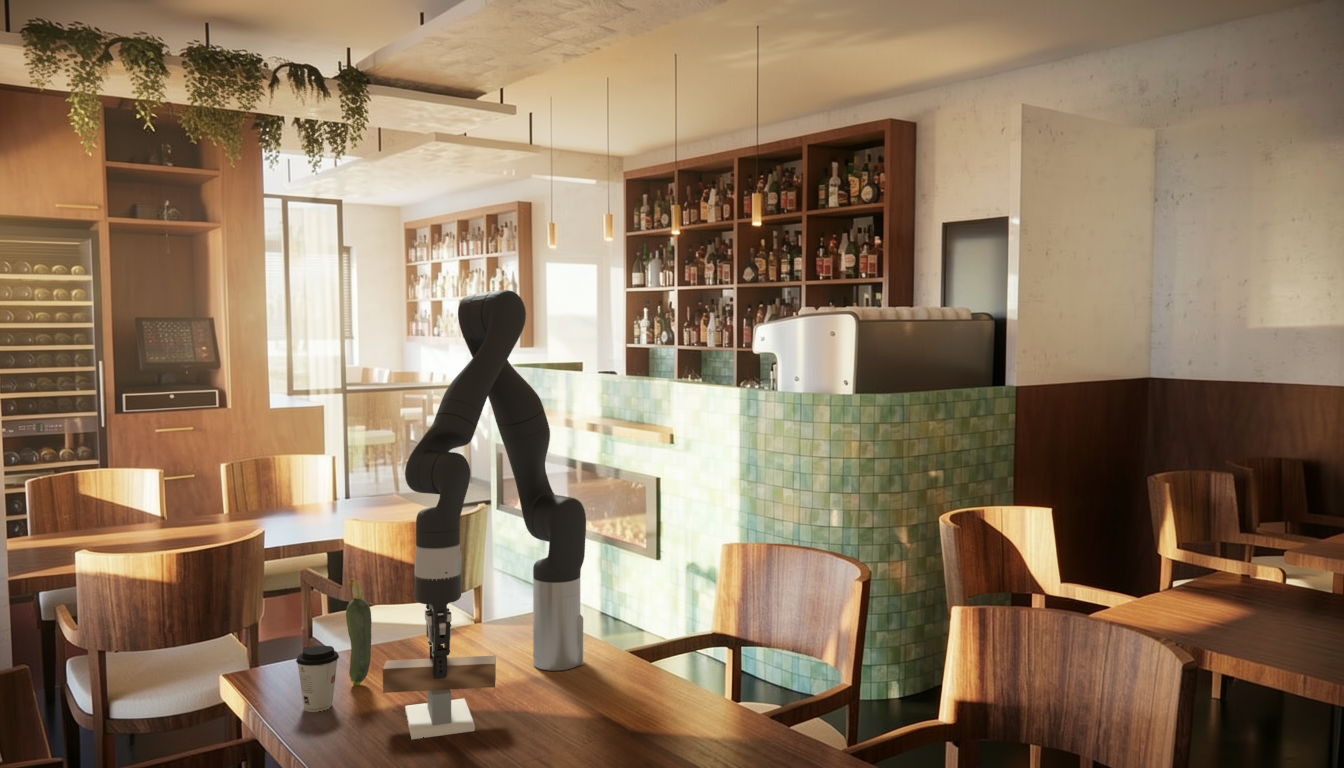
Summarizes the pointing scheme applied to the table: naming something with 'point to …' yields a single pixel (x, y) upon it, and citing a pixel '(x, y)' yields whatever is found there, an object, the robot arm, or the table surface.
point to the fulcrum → (439, 716)
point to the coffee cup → (317, 677)
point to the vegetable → (359, 633)
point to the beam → (421, 678)
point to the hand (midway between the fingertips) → (438, 672)
